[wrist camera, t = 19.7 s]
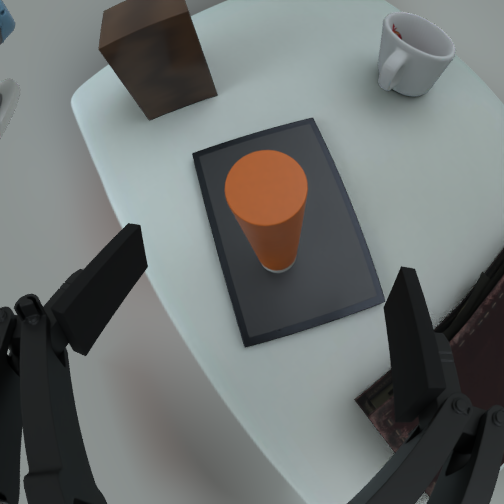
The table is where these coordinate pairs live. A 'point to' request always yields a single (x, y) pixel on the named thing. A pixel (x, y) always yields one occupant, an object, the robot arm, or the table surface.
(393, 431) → the diary
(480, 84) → the table surface
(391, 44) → the cup
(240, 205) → the orange cylinder
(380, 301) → the tablet
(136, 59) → the tall brown-topped block
